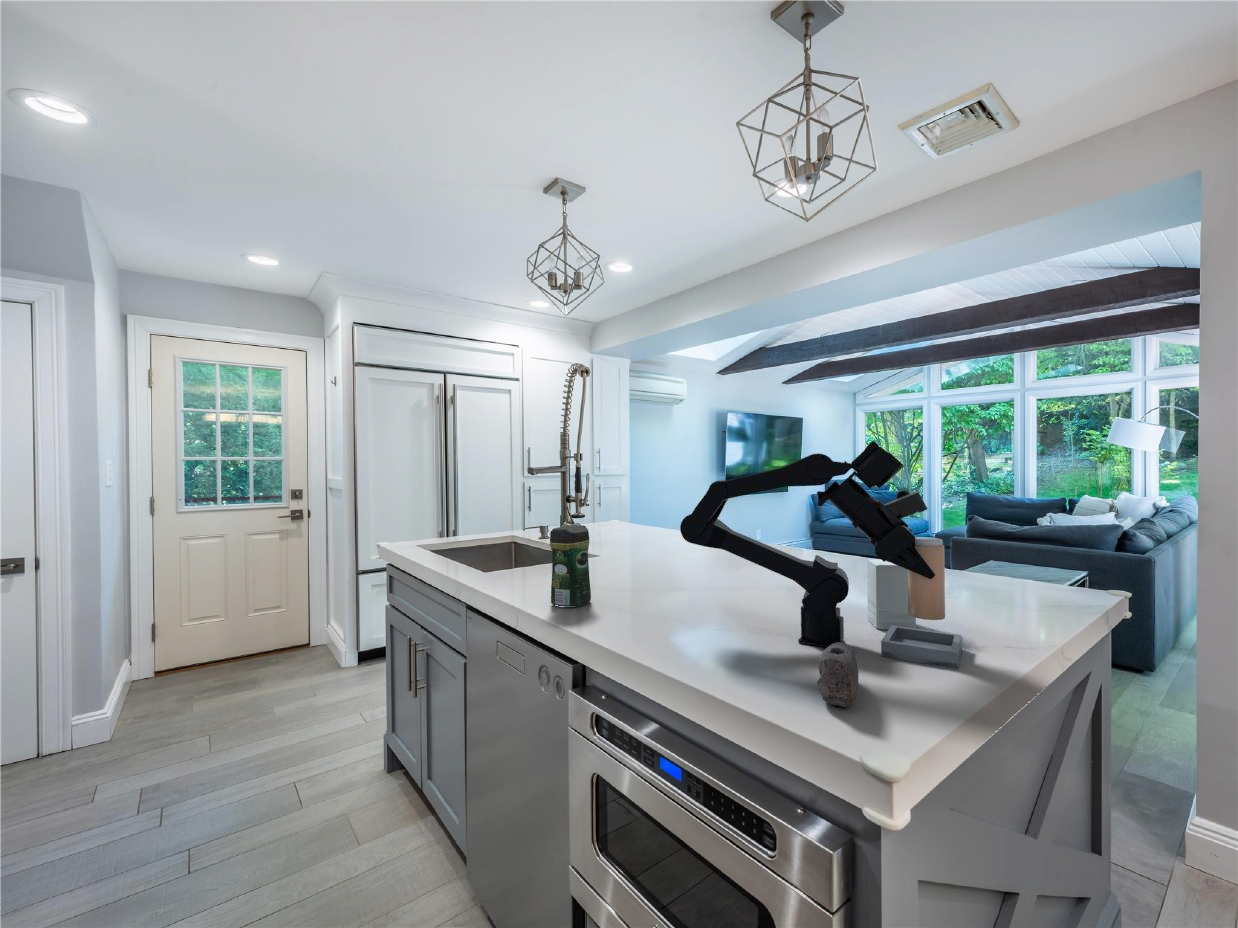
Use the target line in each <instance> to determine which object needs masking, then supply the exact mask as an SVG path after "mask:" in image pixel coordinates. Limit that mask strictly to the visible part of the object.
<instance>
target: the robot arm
mask: <svg viewBox="0 0 1238 928" xmlns="http://www.w3.org/2000/svg"><path fill="white" fill-rule="evenodd" d="M903 468H905V465H904V464H903V463H902V462H901V461H900V460H899V459H898V458H897V457H896V456H894V454H892V452H890V451H887V450H885V449H884V448H883V447H882V446H880V445H879V444H878V443H877V442H876V441H874V440H872V441H871V442H869V443H868V445H867V446H866V447H865V449H864V450H863V451H862V452H860V454H859V455H857V457H855V458H854V460H852V461H851V463H849V462H848V461H846V460H844V461H843V462H841V461H834V460H833V459H832V458H831V457H830V456H828V455H826V454H825V453H812V454H809V455H807V456H804V457H803V458H799V459H798V460H795V461H793V462H790V463H789V464H788V463H787V464H786V465H784V466H781V467H779V468H775V469H768V470H765V471H761V472H755V473H752V474H748V475H743V476H740V477H734V478H730V479H729V478H728V479H726V480H722V479H721V480H715V481H713V482H712V483H711V484H710V485H709V486H708V489H707V491H706V493H704V496H703V497H702V498H701V500H699V502H698V503H697V505H696V506H695V507H694V509H693V510H692V512H691V513H690V514H688V515H686V516H685V517H684V518H683V519H682V521H681V522H680V525H679V526H680V527H679V529H680V534H681V537H682V539H683V540H684V541H686V542H687V543H689V544H693V545H697V546H700V547H704V548H705V547H706V548H710V549H711V548H713V549H719V550H722V551H726V552H728V553H730V554H733V555H735V556H737V557H740V558H742V559H744V560H746V561H749V562H751V563H753V564H755V565H758V566H760V567H762V568H764V569H766V570H769V571H771V572H773V573H776V574H779V575H781V576H782V577H785V578H787V579H790V580H792V581H794V582H795V583H796V584H798V585H799V586H800V587H801V588H802V589H803V590H804V594H803V597H802V598H801V599H802V600H801V603H802V605H801V606H800V637H799V638H798V639H797V641H798V643H800V644H804V645H805V644H806V645H811V646H816V647H817V646H818V647H823V648H827V647H828V646H830V645H831V644H833V643H836V642H842V641H844V639H845V631H844V630H845V627H844V626H845V625H844V624H845V623H844V621H845V620H844V617H843V616H842V615H841V607H837V605H838V604H840V603H842V602H843V601H844V600H845V599H847V597H848V594H849V592H850V591H849V590H850V587H849V586H850V585H849V584H850V582H849V577H848V575H847V573H846V571H844V569H843V568H841V567H839V566H838V565H839V564H838V563H839V562H832V561H828V560H827V559H825V558H823V557H822V556H820V555H818V554H816V555H815V556H814V559H813V561H811V560H806V559H802V558H798V557H796V556H794V555H791V553H787V552H784V551H782V550H780V549H778V548H776V547H773V546H771V545H768V544H766V543H763V542H761V541H759V540H757V539H754V538H751V537H750V536H747V535H745V534H742V533H739V532H738V531H735V530H734V529H732V528H731V527H729V526H728V525H726V523H724V522H723V521H722V520H720V519H719V517H720V515H721V514H722V511H723V509H724V508H725V505H726V503H727V502H728V500H729V499H733V498H738V497H743V496H747V495H751V494H752V495H753V494H756V493H762V492H765V491H769V490H774V489H778V488H785V487H813V486H814V487H816V486H823V485H826V484H827V483H829V482H830V481H831V480H832V479H833V478H834V477H839V476H845V475H846V474H847V473H848V472H849V471H851V469H852V470H854V471H853V472H852V473H851V474H850V475H849V476H848V477H847V478H846V479H844V480H843V481H842V482H841V483H839V481H837V480H835V481H833V482H832V483H831V484H830V485H829V486H828V487H826V489H824V491H822V490H821V491H820V490H818V491H817V492H816V495H817V507H822V506H823V505H824V504H826V503H827V502H829V503H830V504H832V505H833V506H834V507H835V508H836V509H837V510H838V511H839V512H840V513H842V515H844V517H846V519H848V521H850V523H851V525H852V526H853V527H854V528H855V529H858V530H859V531H860V532H861V533H862V534H864V535H865V537H867V538H868V540H869V542H870V543H871V544H872V545H873V546H874V554H875V555H876V556H877V557H878V558H879V560H882V561H883V562H885V561H887V562H891V563H893V564H895V565H898V566H900V567H903V568H905V569H907V570H910V571H912V572H915V573H917V574H919V575H921V576H924V577H926V578H928V579H932V578H933V577H935V573H934V572H933V571H932V570H931V568H930V567H929V566H928V564H927V563H926V562H925V560H924V559H923V558H922V556H921V555H920V554H919V553H918V551H917V550H916V549H915V537H916V536H915V534H914V533H913V531H912V528H911V527H910V526H909V524H908V523H907V521H905V520H904V518H906V517H908V516H912V515H914V514H917V513H922V512H925V511H927V510H928V507H927V505H926V503H925V502H924V501H925V500H924V499H923V497H922V496H921V494H920V492H919V491H918V490H917V491H912V492H911V493H910V492H908V491H907V490H905V489H902V490H900V491H898V492H896V494H895V499H893V500H891V501H889V502H887V503H883V502H882V501H881V500H880V499H879V500H877V499H876V498H874V496H872V495H871V494H870V492H868V491H867V490H866V489H865V488H864V487H863V486H862V485H860V483H858V482H857V481H856V480H855V479H854V477H857V478H858V480H859V481H861V482H862V483H863V484H864V485H866V487H867V488H869V489H870V490H871V489H873V488H875V487H877V488H878V489H881V488H883V487H884V486H885V485H886V484H887V483H888V482H889V481H890V480H892V479H893V478H894V477H895V476H896V475H897V474H898V473H899V472H900V471H901V470H902V469H903ZM908 527H910V528H908ZM842 643H843V642H842Z"/></svg>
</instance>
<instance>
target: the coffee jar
mask: <svg viewBox="0 0 1238 928" xmlns="http://www.w3.org/2000/svg"><path fill="white" fill-rule="evenodd" d="M549 546H550V550H551V556H552V558H551V559H552V561H551V562H552V564H551V584H550V585H551V589H550V603H551V604H552V605H553V604H555V605H558V606H577V607H579V606H578V605H580V604H583V605H585V604H587V603H589V602H590V601H591V600H592V590H591V589H592V588H591V579H590V567H589V566H590V565H589V547H590V531H589V528H587V526H586V525H578V524H570V525H569V524H568V525H563V526H559V527H558V526H557V527H555V528H552V530H550V532H549ZM588 601H589V602H588ZM584 603H585V604H584ZM555 605H554V606H555ZM580 606H581V605H580Z"/></svg>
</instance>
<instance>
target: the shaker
mask: <svg viewBox="0 0 1238 928" xmlns="http://www.w3.org/2000/svg"><path fill="white" fill-rule="evenodd" d="M915 549H916V550H917V551H918V553H919V554H920V555H921V556H922V558H923V559H924V560H925V562H926V563H927V564H928V566H929V567H930V568H931V570H932V571H933V572H934V573H935V577H933V578H932V579H928V578H926V577H924V576H921V575H919V574H917V573H915V572H912V571H910V570H908V614H909V615H910V616H912V617H915V618H916V619H919V620H929V621H940V620H945V619H946V590H945V589H946V582H945V581H946V580H945V579H946V577H945V576H946V575H945V573H946V571H945V565H946V564H945V563H946V562H945V545H944V542H943V539H942V538H938V537H937V538H936V537H924V536H922V537H921V536H915Z"/></svg>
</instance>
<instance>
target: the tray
mask: <svg viewBox="0 0 1238 928" xmlns="http://www.w3.org/2000/svg"><path fill="white" fill-rule="evenodd" d="M962 643H963V641H962V634H959V633H951V632H944V631H938V630H937V631H936V630H928V629H922V628H917V627H916V628H909V627H901V626H894V625H891V627H890V628H889V630H888V629H887V632H886V633H885V635H884V636H883V638H882V640H881V641H880V645H881V647H880V650H881V651H880V653H881V654H880V655H881V657H885V658H890V659H891V658H892V659H897V660H903V661H909V662H915V663H921V664H927V665H934V666H938V667H945V668H950V669H956V670H958V669H959V665H960V659H961V655H962V654H961V653H962V650H963V648H962V647H963V645H962Z"/></svg>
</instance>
